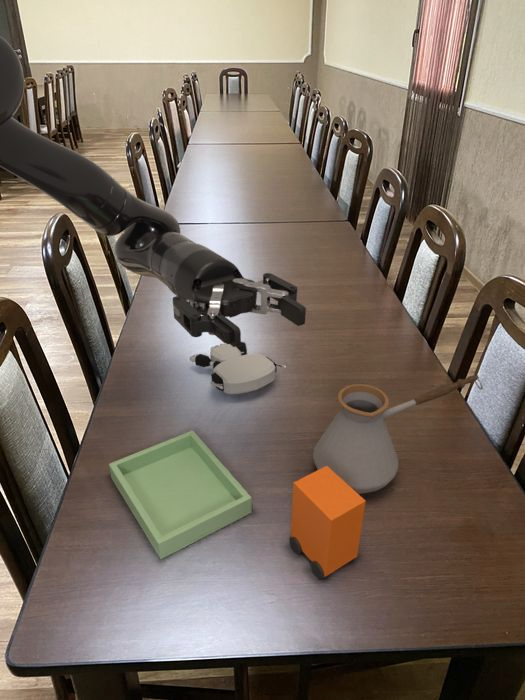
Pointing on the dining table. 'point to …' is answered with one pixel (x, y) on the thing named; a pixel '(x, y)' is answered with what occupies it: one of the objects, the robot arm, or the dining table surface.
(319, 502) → the toy van
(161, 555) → the green square tray
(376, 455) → the coffee pot
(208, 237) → the dining table surface
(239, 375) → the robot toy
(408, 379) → the dining table surface
